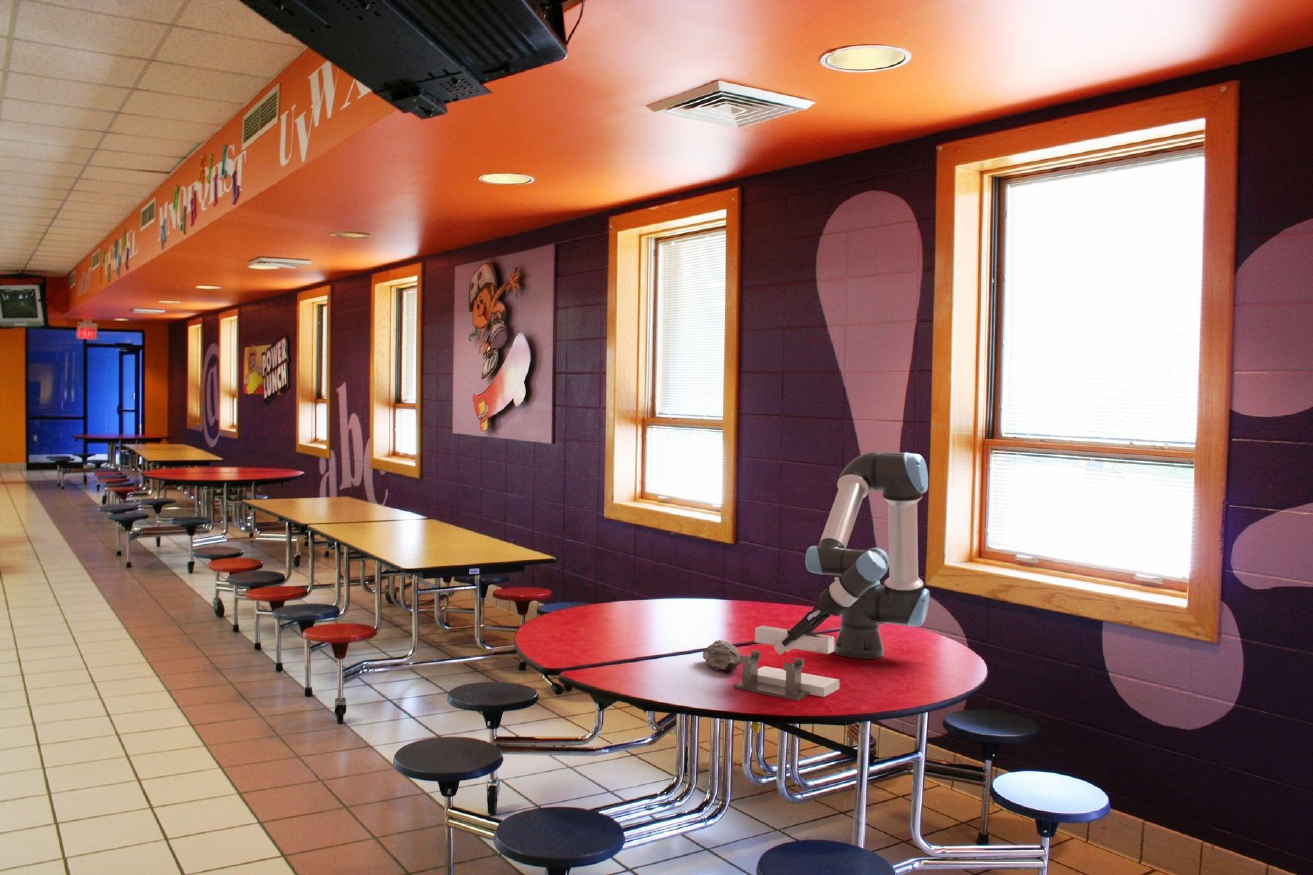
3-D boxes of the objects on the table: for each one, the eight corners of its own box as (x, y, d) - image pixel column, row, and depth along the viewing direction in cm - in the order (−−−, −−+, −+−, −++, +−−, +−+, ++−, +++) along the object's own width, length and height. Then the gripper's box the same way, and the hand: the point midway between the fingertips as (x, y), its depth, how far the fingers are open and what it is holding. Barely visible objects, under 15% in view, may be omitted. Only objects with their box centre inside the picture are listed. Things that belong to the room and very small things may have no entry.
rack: (746, 682, 267) (747, 649, 267) (809, 694, 256) (810, 660, 256) (733, 687, 261) (734, 654, 261) (797, 700, 251) (798, 665, 251)
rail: (761, 639, 273) (762, 625, 273) (834, 651, 260) (834, 636, 260) (754, 642, 269) (755, 627, 269) (827, 653, 257) (828, 638, 257)
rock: (691, 654, 288) (710, 627, 291) (711, 673, 291) (730, 646, 294) (722, 669, 272) (742, 641, 274) (743, 689, 275) (763, 660, 278)
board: (764, 674, 276) (764, 666, 276) (839, 688, 263) (839, 679, 263) (747, 682, 268) (747, 673, 268) (823, 696, 255) (824, 687, 255)
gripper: (842, 582, 266) (786, 633, 276) (815, 589, 252) (758, 643, 262) (859, 603, 263) (803, 654, 273) (834, 612, 249) (775, 666, 259)
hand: (781, 649), depth 267 cm, fingers closed on rail, 4 cm apart
